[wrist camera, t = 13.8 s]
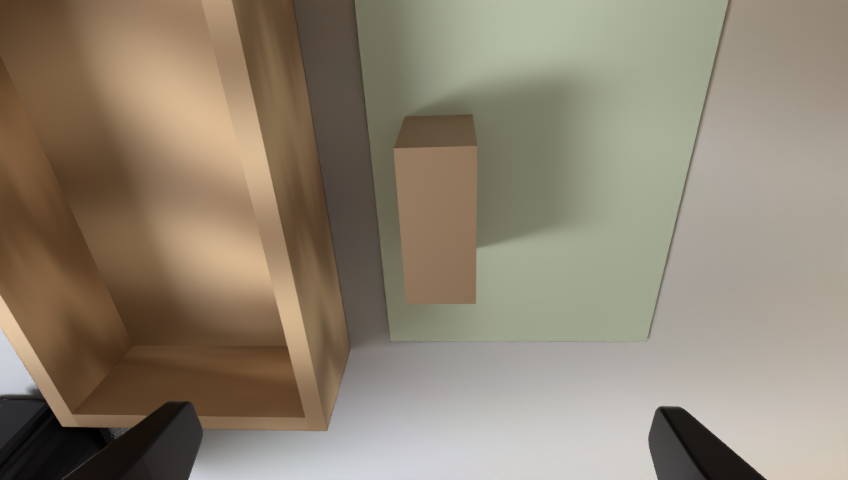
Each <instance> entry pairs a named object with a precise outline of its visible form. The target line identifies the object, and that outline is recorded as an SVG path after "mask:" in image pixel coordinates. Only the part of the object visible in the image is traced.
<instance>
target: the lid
mask: <svg viewBox="0 0 848 480" xmlns="http://www.w3.org/2000/svg"><path fill="white" fill-rule="evenodd" d="M354 2H355V11H356V20H357V30H358V39H359V49H360V58H361V68H362V77H363V87H364V96H365V106H366V115H367V125H368V134H369V143H370V153H371V162H372V172H373V181H374V191H375V200H376V210H377V219H378V229H379V238H380V248H381V257H382V266H383V276H384V285H385V295H386V304H387V314H388V323H389V333H390V341H545V342H647V338H648V334H649V329H650V325H651V321H652V317H653V313H654V309H655V304H656V300H657V296H658V292H659V288H660V284H661V279H662V275H663V271H664V267H665V263H666V259H667V254H668V250H669V246H670V242H671V238H672V234H673V229H674V225H675V221H676V217H677V213H678V209H679V204H680V200H681V196H682V192H683V188H684V184H685V180H686V175H687V171H688V167H689V163H690V159H691V155H692V150H693V146H694V142H695V138H696V134H697V130H698V125H699V121H700V117H701V113H702V109H703V105H704V100H705V96H706V92H707V88H708V84H709V80H710V75H711V71H712V67H713V63H714V59H715V55H716V50H717V46H718V42H719V38H720V34H721V30H722V25H723V21H724V17H725V13H726V9H727V5H728V0H354Z"/></svg>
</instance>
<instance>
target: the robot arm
mask: <svg viewBox="0 0 848 480" xmlns="http://www.w3.org/2000/svg"><path fill="white" fill-rule="evenodd" d="M202 437H203V429H202V425H201V423H200V420H199V418H198V415H197V413H196V410H195V408H194V405H193V404H192V403H191V402H190V401H187V400H172V401H168V402H166V403H165V404H163V405H162V406H161V407H159V408H158V409H157V410H155V411H154V412H152V413H151V414H150V415H148V416H147V417H146V418H144V419H143V420H142V421H140V422H139V423H138V424H136V425H135V426H133V427H132V428H131V429H129V430H128V431H127V432H125V433H124V434H123V435H121V436H120V437H119V438H117V439H116V440H114V441H113V440H112V438H111V436H110V434H109V433H108V431H107V429H106V427H62V425H61V424H60V422H59V420H58V419H57V417H56V416H55V414H54V412H53V411H52V409H51V408H50V406H49V404H48V403H47V401H46V400H0V480H188V479H189V476H190V473H191V470H192V468H193V465H194V462H195V459H196V456H197V453H198V450H199V447H200V444H201V441H202ZM648 441H649V449H650V453H651V456H652V460H653V464H654V467H655V471H656V475H657V478H658V480H767V479H765V478H764V477H763V476H762V475H761V474H760V473H758V472H757V471H756V470H755V469H754V468H753V467H751V466H750V465H749V464H748V463H747V462H746V461H744V460H743V459H742V458H741V457H740V456H739V455H737V454H736V453H735V452H734V451H733V450H732V449H730V448H729V447H728V446H727V445H726V444H725V443H723V442H722V441H721V440H720V439H719V438H718V437H716V436H715V435H714V434H713V433H712V432H711V431H709V430H708V429H707V428H706V427H705V426H704V425H702V424H701V423H700V422H699V421H698V420H697V419H695V418H694V417H693V416H692V415H691V414H690V413H688V412H687V411H686V410H685V409H683V408H681V407H672V406H661V407H658V408H657V409H656V411H655V415H654V418H653V422H652V425H651V429H650V432H649V438H648Z"/></svg>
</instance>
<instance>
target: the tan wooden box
mask: <svg viewBox="0 0 848 480" xmlns="http://www.w3.org/2000/svg"><path fill="white" fill-rule="evenodd" d="M0 327H1V329H2V331H3V332H4V334H5V335H6V337H7V339H8V340H9V342H10V343H11V345H12V347H13V348H14V350H15V351H16V353H17V355H18V356H19V358H20V359H21V361H22V363H23V364H24V366H25V367H26V369H27V371H28V372H29V374H30V375H31V377H32V379H33V380H34V382H35V383H36V385H37V387H38V388H39V390H40V391H41V393H42V395H43V396H44V398H45V399H46V401H47V403H48V404H49V406H50V408H51V409H52V411H53V412H54V414H55V416H56V417H57V419H58V420H59V422H60V424H61V425H62V427H111V428H132V427H133V426H135V425H136V424H138V423H139V422H140V421H142V420H143V419H144V418H146V417H147V416H148V415H150V414H151V413H152V412H154V411H155V410H157V409H158V408H159V407H161V406H162V405H163V404H165V403H166V402H168V401H172V400H187V401H190V402H191V403H192V404H193V405H194V408H195V410H196V413H197V415H198V418H199V420H200V423H201V425H202V429H235V430H297V431H327V429H328V426H329V422H330V419H331V415H332V412H333V408H334V405H335V401H336V398H337V394H338V391H339V387H340V384H341V380H342V377H343V373H344V370H345V366H346V363H347V359H348V356H349V352H350V346H349V340H348V334H347V328H346V322H345V316H344V310H343V303H342V297H341V291H340V285H339V279H338V273H337V267H336V261H335V255H334V249H333V243H332V237H331V231H330V224H329V218H328V212H327V206H326V200H325V194H324V188H323V182H322V176H321V170H320V164H319V158H318V152H317V146H316V139H315V133H314V127H313V121H312V115H311V109H310V103H309V97H308V91H307V85H306V79H305V73H304V67H303V60H302V54H301V48H300V42H299V36H298V30H297V24H296V18H295V12H294V6H293V0H0Z"/></svg>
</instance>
